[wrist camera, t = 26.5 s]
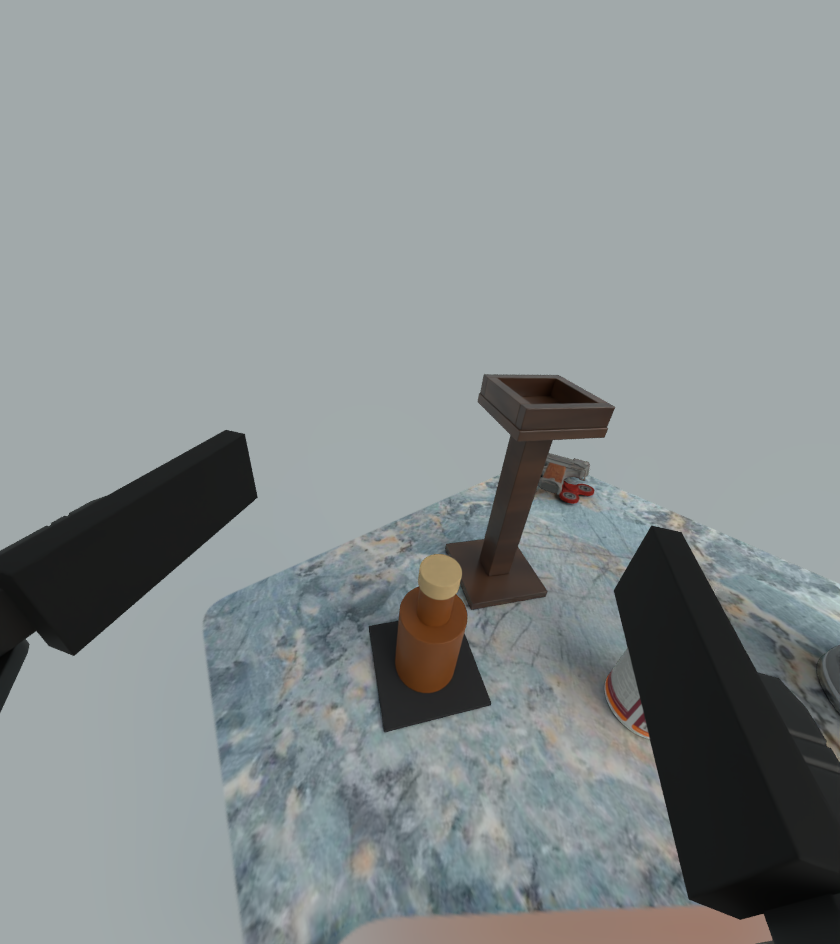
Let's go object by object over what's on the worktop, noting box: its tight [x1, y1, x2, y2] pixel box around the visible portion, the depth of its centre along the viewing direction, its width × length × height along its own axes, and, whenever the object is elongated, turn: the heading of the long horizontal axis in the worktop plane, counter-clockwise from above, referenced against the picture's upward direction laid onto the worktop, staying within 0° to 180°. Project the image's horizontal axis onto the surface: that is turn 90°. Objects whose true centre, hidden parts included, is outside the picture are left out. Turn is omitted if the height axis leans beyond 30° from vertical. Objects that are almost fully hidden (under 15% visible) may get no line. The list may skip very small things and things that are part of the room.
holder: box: [445, 374, 615, 610], centre depth 40 cm, size 10×10×25 cm
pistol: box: [539, 453, 590, 495], centre depth 69 cm, size 19×2×12 cm
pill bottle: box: [604, 648, 650, 739], centre depth 31 cm, size 6×6×11 cm
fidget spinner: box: [559, 481, 594, 504], centre depth 64 cm, size 8×7×1 cm
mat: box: [369, 621, 491, 732], centre depth 35 cm, size 10×10×1 cm
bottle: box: [395, 554, 467, 693], centre depth 32 cm, size 6×6×13 cm
